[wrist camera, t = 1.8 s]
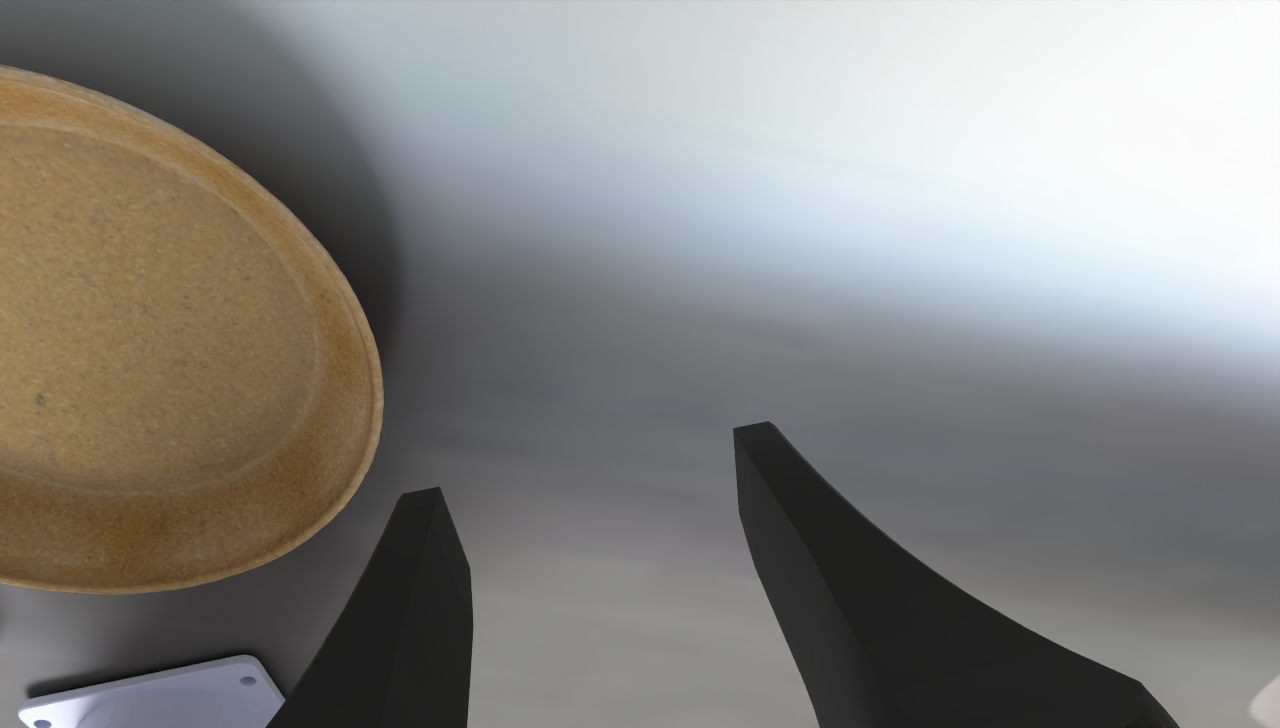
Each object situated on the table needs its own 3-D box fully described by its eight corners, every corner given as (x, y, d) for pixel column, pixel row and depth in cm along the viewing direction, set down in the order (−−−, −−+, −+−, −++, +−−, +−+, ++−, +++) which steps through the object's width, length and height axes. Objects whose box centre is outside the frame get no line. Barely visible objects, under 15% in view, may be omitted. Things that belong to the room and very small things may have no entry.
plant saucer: (315, 570, 27) (301, 636, 25) (-260, 462, 21) (-341, 535, 19) (470, 183, 20) (468, 228, 18) (-311, -120, 15) (-445, -105, 13)
